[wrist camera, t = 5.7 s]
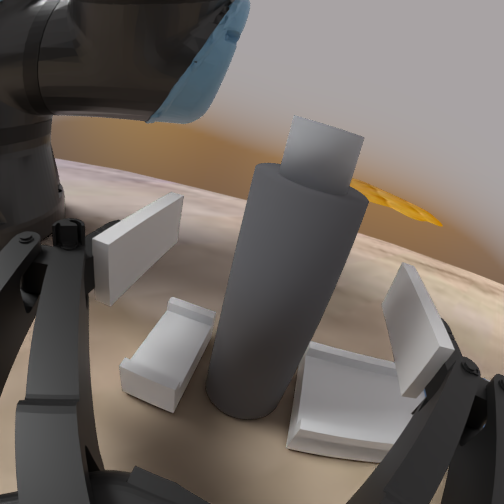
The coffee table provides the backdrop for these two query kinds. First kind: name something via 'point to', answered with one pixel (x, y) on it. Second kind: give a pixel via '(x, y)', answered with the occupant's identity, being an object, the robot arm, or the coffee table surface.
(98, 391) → the coffee table surface
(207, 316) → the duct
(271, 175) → the cable plug
